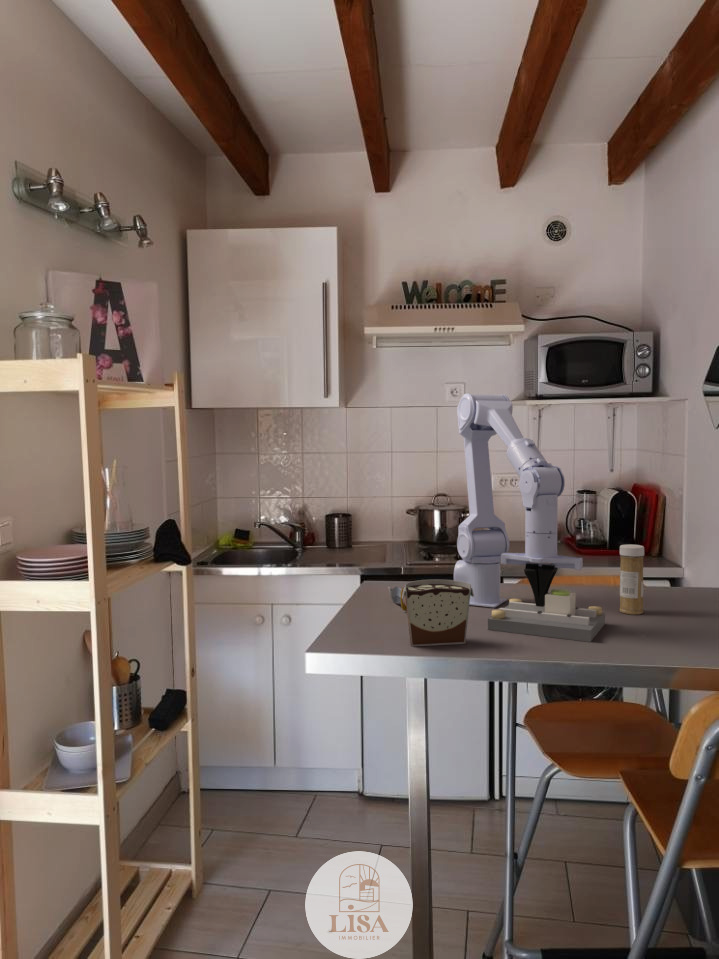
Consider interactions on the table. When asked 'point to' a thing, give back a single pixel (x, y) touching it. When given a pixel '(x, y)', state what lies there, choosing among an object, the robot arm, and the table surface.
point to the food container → (437, 611)
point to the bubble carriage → (560, 602)
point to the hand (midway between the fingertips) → (540, 605)
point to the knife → (398, 596)
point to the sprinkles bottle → (631, 579)
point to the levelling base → (547, 621)
